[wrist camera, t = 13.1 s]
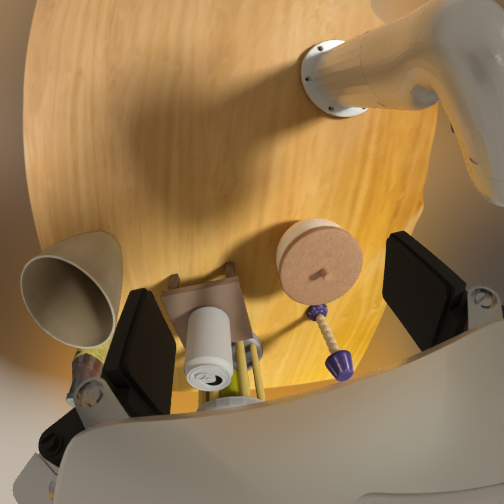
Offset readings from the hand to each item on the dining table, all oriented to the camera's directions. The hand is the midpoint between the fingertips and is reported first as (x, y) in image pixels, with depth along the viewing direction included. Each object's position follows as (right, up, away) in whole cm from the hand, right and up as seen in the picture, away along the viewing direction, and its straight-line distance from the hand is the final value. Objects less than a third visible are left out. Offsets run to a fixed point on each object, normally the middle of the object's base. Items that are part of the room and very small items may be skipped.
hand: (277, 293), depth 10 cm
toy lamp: (+12, -10, +44) cm, 47 cm away
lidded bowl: (+8, +3, +36) cm, 37 cm away
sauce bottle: (-31, -13, +40) cm, 53 cm away
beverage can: (-8, -9, +33) cm, 35 cm away
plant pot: (-26, +2, +33) cm, 42 cm away
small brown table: (-8, -6, +39) cm, 40 cm away
